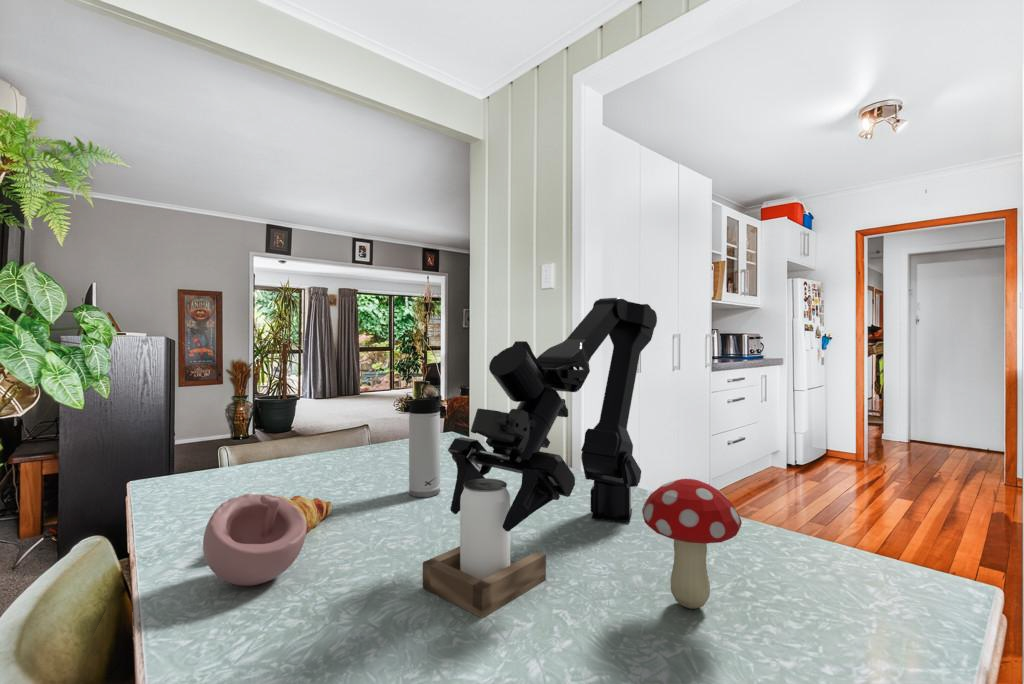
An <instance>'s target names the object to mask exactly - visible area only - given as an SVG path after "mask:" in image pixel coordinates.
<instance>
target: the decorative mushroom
mask: <svg viewBox="0 0 1024 684" xmlns="http://www.w3.org/2000/svg"><path fill="white" fill-rule="evenodd" d="M641 512H642V518H643V520H644V524H646V525H647V526H648V527H649V528H650V529H651V530H653V531H654V532H655V533H656V534H658V535H660V536H663V537H666V538H668V539H671V540H673V553H674V555H673V565H672V570H671V575H670V591H671V594H672V596H673V597H674V599H675V601H676V602H677V603H678V605H681V606H682V607H685V608H686V609H689V610H694V609H699V608H702V607H704V606H705V604H706V603H707V601H708V600H709V598H710V597H711V596H710V595H711V593H710V592H711V591H710V590H711V585H710V580H709V575H708V574H709V573H708V568H707V552H708V545H707V544H716V543H719V544H720V543H723V542H725V541H728V540H731V539H733V538H734V537H736V536H737V534H738V533H739V531H740V529H741V526H742V524H743V522H742V519H741V516H740V514H739V513H738V510H737V509H736V508H735V507H734V505H733V503H732V502H731V501H730V499H729V498H728V497H727V496H726V495H725V494H724V493H723V492H722V491H720V490H719V489H717V488H715V487H714V486H712V485H710V484H708V483H706V482H705V481H701V480H698V479H694V478H681V479H676V480H673V481H669V482H666V483H664V484H662V485H660V486H659V487H658V488H657V489H655V490H654V491H653V492H652V493H650V495H649V496H648V498H647V499H646V500H645V501H644V503H643V507H642V509H641Z"/></svg>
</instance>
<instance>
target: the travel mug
mask: <svg viewBox="0 0 1024 684" xmlns="http://www.w3.org/2000/svg"><path fill="white" fill-rule="evenodd" d="M441 400H442V395H435V396H427V397H421V398H419V397H418V398H414V399H413V400H409V403H408V405H409V408H408V415H409V416H408V461H409V462H408V479H409V480H408V486H409V487H408V493H409V495H410V496H411V495H412V496H411V497H413V498H421V497H423V498H431V497H430V496H432V497H435V496H438V495H439V494H440V492H441V485H440V484H441V408H440V406H441V405H440V404H441V402H440V401H441ZM438 493H439V494H438ZM434 495H435V496H434Z"/></svg>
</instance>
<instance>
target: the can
mask: <svg viewBox="0 0 1024 684" xmlns="http://www.w3.org/2000/svg"><path fill="white" fill-rule="evenodd" d="M507 486H508V484H507V481H504V480H501V479H498V478H497V479H496V478H489V477H488V478H486V477H484V479H474V480H470V481H467V482H466V483H464V490H463V492H462V494H461V499H460V511H459V515H460V517H459V522H460V523H459V546H460V571H462V572H464V573H467V574H469V575H471V576H473V577H476V578H478V579H480V580H483V579H485V578H487V577H489V576H491V575H493V574H495V573H497V572H498V571H500V570H502V569H504V568H506V567H508V566H510V560H511V530H510V531H508V532H507V531H505V530H504V529H503V523H504V521H505V518H506V515H507V513H508V511H509V509H510V507H511V495H510V492H509V490H508V489H507Z"/></svg>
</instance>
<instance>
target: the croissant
mask: <svg viewBox="0 0 1024 684" xmlns="http://www.w3.org/2000/svg"><path fill="white" fill-rule="evenodd" d="M277 497H280V498H283V499H284V500H287V501H288V502H290V503H291V504H293V505H294V506H295V507H297V509H298V510H299V511H300V512H301V513H302V515H303V516H304V519H305V521H306V526H307V532H306V534H307V533H309V532H310V531H311V530H312V529H313V528H315V527H317V526H318V525H320V523H321V522H322V520H323V519H326V518H327V517H328V516H329V515H330V514H331V513H332V510H333V503H332V501H324V500H323V499H320V498H319V497H315V498H313V499H310V498H306V497H305V496H302V495H294V496H293V497H290V498H287V497H285V496H281V495H277Z"/></svg>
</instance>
